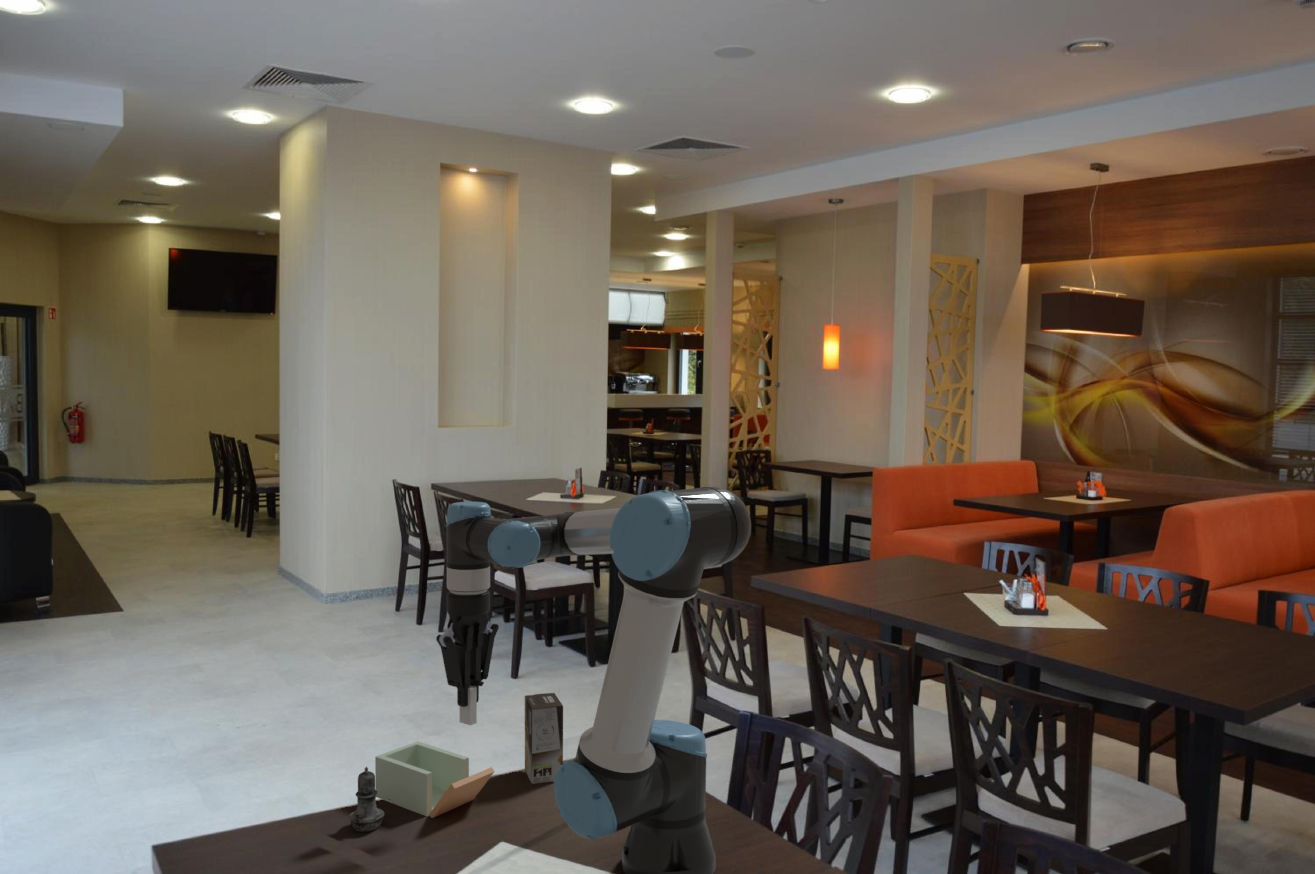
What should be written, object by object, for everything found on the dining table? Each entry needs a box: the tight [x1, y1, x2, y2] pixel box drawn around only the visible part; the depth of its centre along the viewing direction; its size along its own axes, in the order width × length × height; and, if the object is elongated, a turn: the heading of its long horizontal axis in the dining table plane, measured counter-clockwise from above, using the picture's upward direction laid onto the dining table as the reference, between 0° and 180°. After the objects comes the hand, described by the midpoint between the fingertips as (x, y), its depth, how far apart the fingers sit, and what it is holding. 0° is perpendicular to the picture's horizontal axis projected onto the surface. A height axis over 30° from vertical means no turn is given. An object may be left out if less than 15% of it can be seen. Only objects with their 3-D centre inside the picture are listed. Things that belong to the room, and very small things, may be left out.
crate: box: [374, 741, 470, 817], centre depth 183 cm, size 14×10×9 cm
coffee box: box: [524, 692, 564, 785], centre depth 195 cm, size 9×6×16 cm
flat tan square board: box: [429, 766, 495, 819], centre depth 177 cm, size 1×10×9 cm
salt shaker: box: [348, 766, 385, 833], centre depth 170 cm, size 6×6×12 cm
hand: (468, 722), depth 175 cm, fingers closed
